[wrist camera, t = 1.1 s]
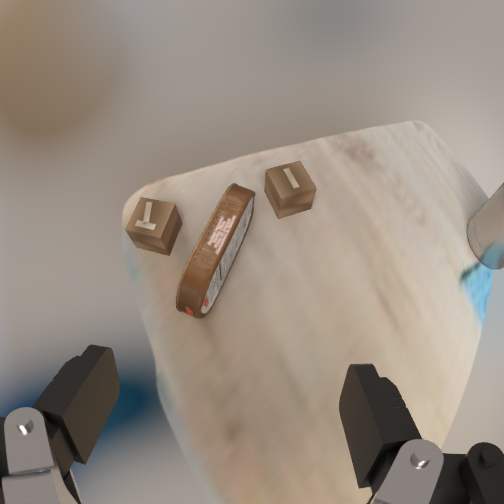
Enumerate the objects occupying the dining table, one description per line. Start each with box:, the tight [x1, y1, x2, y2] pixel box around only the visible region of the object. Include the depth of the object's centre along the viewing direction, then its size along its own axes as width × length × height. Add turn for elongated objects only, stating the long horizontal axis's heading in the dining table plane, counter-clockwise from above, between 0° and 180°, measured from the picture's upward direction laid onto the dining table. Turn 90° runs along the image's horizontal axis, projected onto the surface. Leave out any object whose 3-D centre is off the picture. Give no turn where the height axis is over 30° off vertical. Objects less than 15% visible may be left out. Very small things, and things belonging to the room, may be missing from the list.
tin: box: [176, 183, 255, 318], centre depth 33 cm, size 15×3×8 cm, turn 158°
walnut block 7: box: [125, 197, 182, 255], centre depth 37 cm, size 4×4×5 cm
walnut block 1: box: [265, 161, 316, 219], centre depth 39 cm, size 4×4×5 cm
